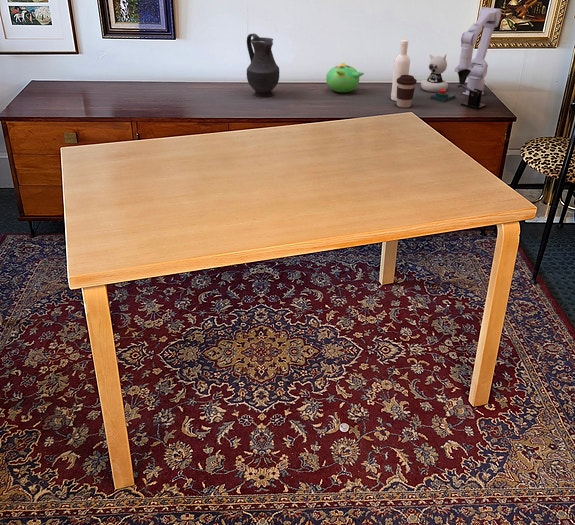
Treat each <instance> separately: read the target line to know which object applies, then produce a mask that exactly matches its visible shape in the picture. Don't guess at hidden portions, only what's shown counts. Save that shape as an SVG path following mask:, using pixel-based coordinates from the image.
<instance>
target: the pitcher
mask: <svg viewBox="0 0 575 525" xmlns="http://www.w3.org/2000/svg"><path fill="white" fill-rule="evenodd" d="M273 41H274V38H272V37H264V36H263V37H261V36H259V35H258V34H256V33H254V32H253V33H249V34H248V35H247V37H246V48H247V51H248V56H249V60H250V63H249V65H248V66H247V68H246V81H247V83H248V85H249V86H250V88H251V89H253V91H254V96H256V97H258V98H269V97H272V96H273V90H275V88H276V87H277V85H278V83H279V80H280V66H278V64H277V63H276V60H275V57H274V54H273V50H272V47H273V45H274V42H273Z"/></svg>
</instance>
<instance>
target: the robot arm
mask: <svg viewBox="0 0 575 525" xmlns="http://www.w3.org/2000/svg"><path fill="white" fill-rule="evenodd" d="M501 16H502V10H501V8H494V7H487V6H482V7H481V8H480V9H479V12H478V19H477V20H476V22H473V23H472V24H471V26H470V27H469V28H468V29H467V31H464V32H463V33H462V34H461V36H460V47H461V50H460V55H459V56H460V57H459V63H458V65H457V66H456V67H454V72H455V73H457V76H458V82H459V85H463V84H466V81H467V84H466V87H468V88H469V89H471V90H473V91H474V89H479V90H483V91H482V95H485V92H484V88H485V84H486V83H485V77H486V76H487V73H488V68H489V64H488V62H487V61H486V60H485V58H486V56H487V53H488V49H489V46H490V42H491V39H492V36H493V32H494V30H495V28H497V27H499V24H500V20H501ZM481 33H482V34H481ZM480 34H481V37H480V40H479V43H478V47H477V52H476V54H475V57H473V53H474V48H475V45H476V44H477V40H478V39H479V36H480ZM462 95H465V96H469V91H467V90H466V89H465V91H464V92H462Z"/></svg>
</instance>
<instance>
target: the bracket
mask: <svg viewBox="0 0 575 525" xmlns="http://www.w3.org/2000/svg"><path fill="white" fill-rule="evenodd" d="M474 90H476V91H473V90H470V92H469V95H468V97H467V98H468V99H467V101H463V102H461V103H460V106H462V107H466V108H469V109H473V110H477V111H478V110H481V109H484V108H487V104H485V103H481V101H482V95H483V94H482V91H483V92H484V89H483V90H479V89H474ZM477 91H478V92H480V93H479V96H478V92H477ZM477 96H478V97H477Z"/></svg>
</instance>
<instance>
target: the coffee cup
mask: <svg viewBox="0 0 575 525" xmlns="http://www.w3.org/2000/svg"><path fill="white" fill-rule="evenodd" d="M417 82H418V81H417V79H416V78H415V77H414V75H410V74H409V75H401V76H400V78H397V83H398V86H397V101H396V106H397V107H398V108H401V109H402V108H403V109H406V108H411V107H412V103H413V99H414V94H415V88H416V84H417Z"/></svg>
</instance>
